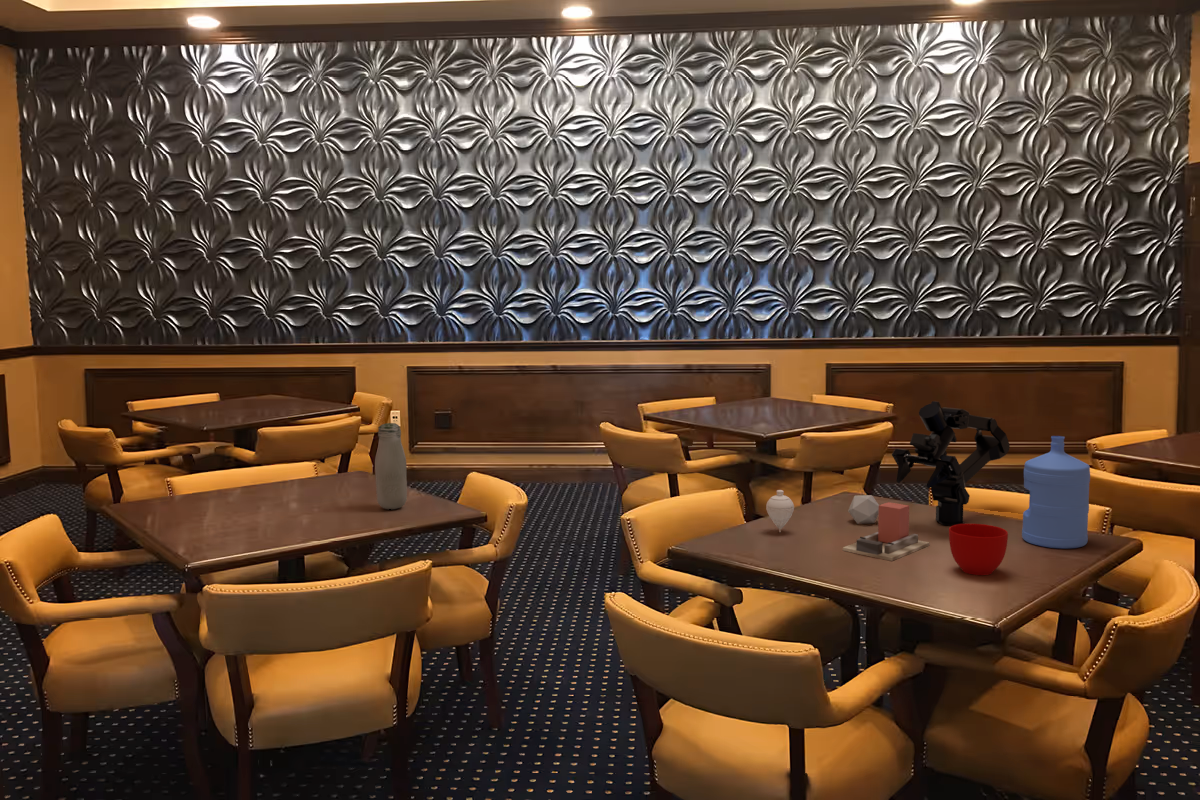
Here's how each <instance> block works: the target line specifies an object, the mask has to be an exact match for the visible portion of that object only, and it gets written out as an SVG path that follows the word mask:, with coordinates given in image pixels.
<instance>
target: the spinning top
mask: <svg viewBox="0 0 1200 800" xmlns="http://www.w3.org/2000/svg"><path fill="white" fill-rule="evenodd" d="M765 507H766V508H765V509H766V512H767V514H768V516H769V519H771V521H772V522H773V524H774V525H775V526H776V528H777V529H778V530H779V533H781V531H782V529H783V528H784V527H785V526H786V524H787V523H788V522H789V520H790V519H791V517H792V516H793V513H794V510H795V504H794V502H793V500H792V499H791V498H790V497H789V496H787V495H784V490H782V489H777V490H776V495H773V496H771V497H769V499H768V500H767V502H766V505H765Z"/></svg>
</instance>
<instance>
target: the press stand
mask: <svg viewBox="0 0 1200 800" xmlns="http://www.w3.org/2000/svg"><path fill="white" fill-rule="evenodd" d="M929 546H930V542H929V541H923V540H919V534H916V533H911V534H909V536H907V537H904V538H902V539H899V540H897V541H894V542H892V543H890V542H888V543H886V542H881V541H878V531H876V532H873V533H871V534H869V535H865V536H860V537H859V538H857V539H856V542H854V543H851V544H849V545H846V546H843V547H842V551H843V552H849V553H853V554H856V555H857V554H858V555H861V556H867V557H871V558H876V559H879V560H880V559H881V560H885V561H889V562H892V561H895V560H898V559H901V558H903V557H906V556H907V555H909V554H912V553H916V552H917V551H920V550H921V549H925V548H926V547H929Z"/></svg>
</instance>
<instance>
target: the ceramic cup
mask: <svg viewBox="0 0 1200 800" xmlns="http://www.w3.org/2000/svg"><path fill="white" fill-rule="evenodd" d="M1008 533H1009V532H1008V531H1007V530H1006V529H1004V528H1002V527H999V526H995V525H990V524H983V523H965V524H958V525H950V526H949V528H948V539H949V549H950V552H951V555H952V558H953V560H954V561H955V563H956V565H958V567H959V568H960V569H961V570H962V572H963V573H965V574H969V575H973V576H974V575H975V576H988V575H991V574H993V572H994V571H996V569H997V568H998V567H999V566H1000V565H1001V564H1002V562H1003V560H1004V558H1005V554H1006V553H1007V552H1006V551H1007V546H1008V538H1009V534H1008Z"/></svg>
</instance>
